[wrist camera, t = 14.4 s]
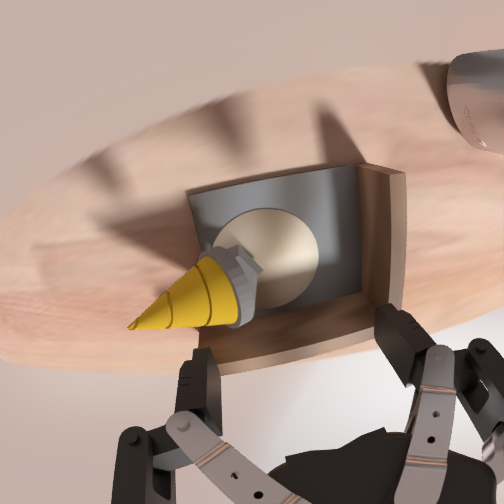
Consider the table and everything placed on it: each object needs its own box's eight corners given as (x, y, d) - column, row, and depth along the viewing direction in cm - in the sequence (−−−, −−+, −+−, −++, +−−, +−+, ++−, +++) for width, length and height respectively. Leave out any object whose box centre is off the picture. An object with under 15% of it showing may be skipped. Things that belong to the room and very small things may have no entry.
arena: (367, 162, 19) (405, 172, 15) (371, 297, 24) (398, 329, 19) (161, 201, 19) (142, 223, 14) (204, 336, 23) (202, 378, 19)
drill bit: (253, 299, 23) (137, 352, 18) (234, 234, 22) (107, 280, 17) (297, 311, 18) (155, 385, 13) (278, 231, 17) (114, 293, 12)
